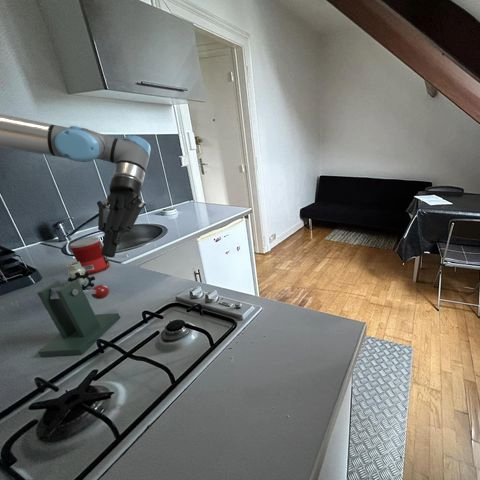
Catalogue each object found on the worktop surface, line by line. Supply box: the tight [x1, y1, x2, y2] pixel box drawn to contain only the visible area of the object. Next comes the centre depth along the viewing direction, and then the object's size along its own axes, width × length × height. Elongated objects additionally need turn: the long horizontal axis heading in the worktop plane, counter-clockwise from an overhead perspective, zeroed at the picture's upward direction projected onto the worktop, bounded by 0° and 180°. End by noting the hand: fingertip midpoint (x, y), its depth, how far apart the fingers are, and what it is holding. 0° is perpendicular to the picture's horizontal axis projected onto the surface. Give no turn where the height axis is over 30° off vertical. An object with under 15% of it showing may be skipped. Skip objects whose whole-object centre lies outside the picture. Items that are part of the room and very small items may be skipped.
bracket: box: [36, 280, 121, 358], centre depth 59 cm, size 12×9×14 cm
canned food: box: [69, 236, 111, 275], centre depth 92 cm, size 8×8×11 cm
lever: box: [50, 284, 110, 300], centre depth 62 cm, size 13×4×4 cm, turn 179°
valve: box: [65, 260, 96, 290], centre depth 83 cm, size 7×7×12 cm
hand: (107, 255), depth 70 cm, fingers closed
